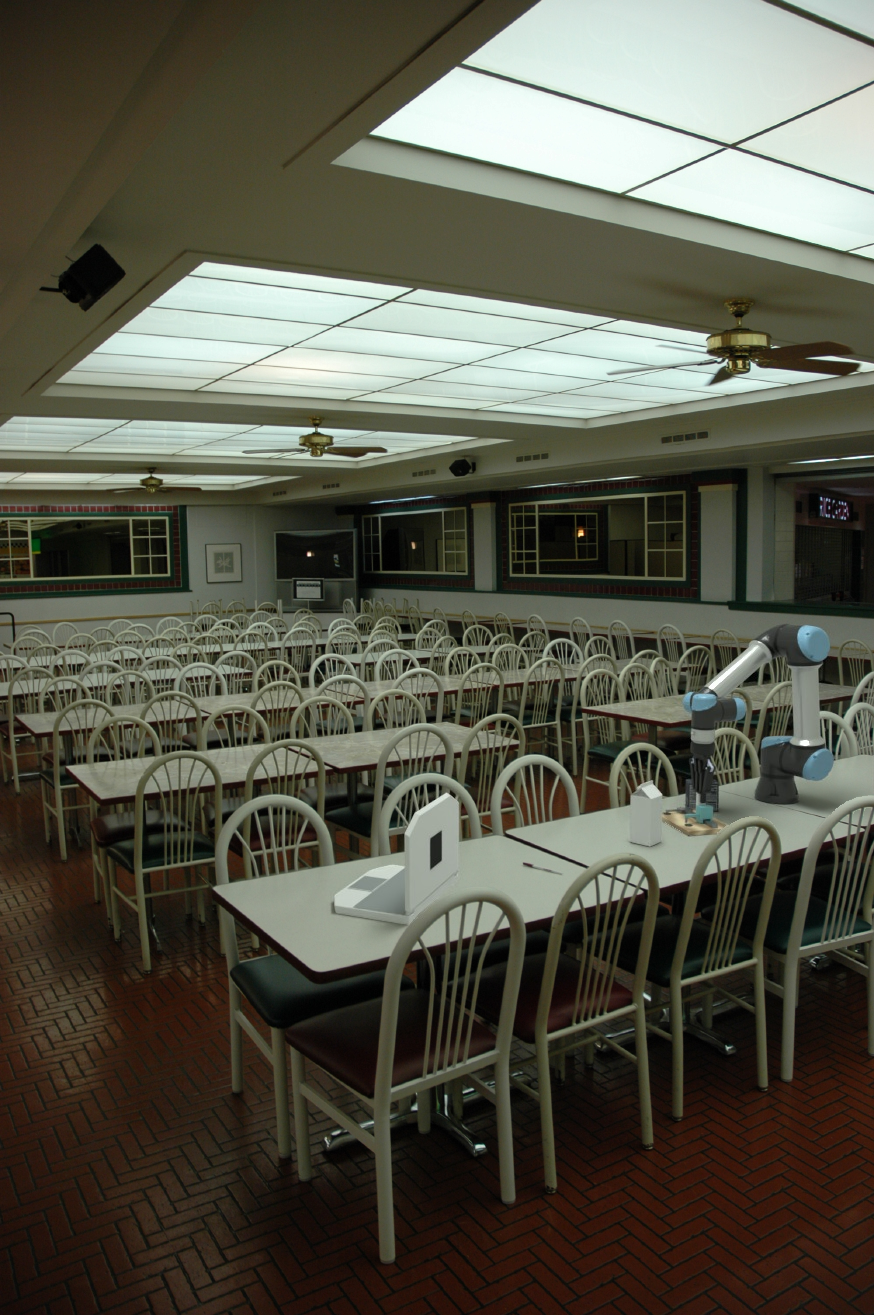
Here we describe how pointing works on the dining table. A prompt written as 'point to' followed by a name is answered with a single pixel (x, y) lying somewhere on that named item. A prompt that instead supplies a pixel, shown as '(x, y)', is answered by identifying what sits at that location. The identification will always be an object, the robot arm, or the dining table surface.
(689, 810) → the beam
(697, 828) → the board
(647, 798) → the milk carton
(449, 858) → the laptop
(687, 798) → the small box
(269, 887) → the dining table surface
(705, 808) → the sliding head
